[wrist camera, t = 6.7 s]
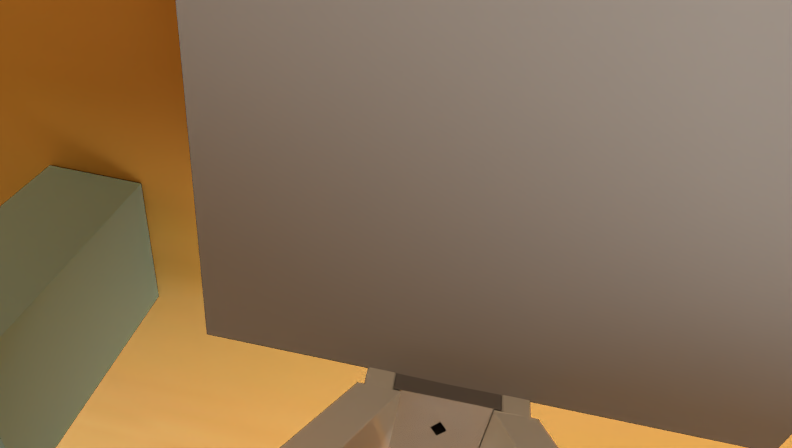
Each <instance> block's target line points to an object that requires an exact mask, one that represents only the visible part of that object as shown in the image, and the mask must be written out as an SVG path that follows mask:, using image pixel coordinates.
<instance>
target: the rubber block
mask: <svg viewBox="0 0 792 448" xmlns="http://www.w3.org/2000/svg"><path fill="white" fill-rule="evenodd" d="M176 11H177V21H178V32H179V43H180V53H181V64H182V75H183V85H184V96H185V106H186V117H187V128H188V138H189V149H190V160H191V170H192V181H193V192H194V202H195V213H196V223H197V234H198V245H199V255H200V266H201V277H202V287H203V298H204V309H205V319H206V330H207V334H208V335H213V336H218V337H223V338H227V339H232V340H237V341H242V342H246V343H251V344H256V345H261V346H266V347H270V348H275V349H280V350H285V351H289V352H294V353H299V354H304V355H309V356H313V357H318V358H323V359H328V360H332V361H337V362H342V363H347V364H351V365H356V366H361V367H366V368H369V367H371V368H376V369H381V370H386V371H390V372H395V373H396V374H397V373H398V374H403V375H407V376H412V377H417V378H421V379H426V380H430V381H435V382H439V383H444V384H448V385H453V386H459V387H464V388H469V389H474V390H479V391H484V392H489V393H494V394H499V395H501V396H502V395H506V396H511V397H516V398H521V399H526V400H529V401H530V402H533V403H538V404H543V405H547V406H552V407H557V408H562V409H566V410H571V411H576V412H581V413H586V414H590V415H595V416H600V417H605V418H609V419H614V420H619V421H624V422H629V423H633V424H638V425H643V426H648V427H652V428H657V429H662V430H667V431H671V432H676V433H681V434H686V435H691V436H695V437H700V438H705V439H710V440H714V441H719V442H724V443H729V444H734V445H738V446H743V447H748V448H779V447H780V446H781V445H782V444H783V443H784V442H785V441H786V439H787V438H788V437H789V436H790V435H791V434H792V0H176Z"/></svg>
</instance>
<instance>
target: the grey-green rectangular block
mask: <svg viewBox="0 0 792 448" xmlns="http://www.w3.org/2000/svg"><path fill="white" fill-rule="evenodd" d="M158 297H159V295H158V289H157V282H156V276H155V269H154V263H153V257H152V250H151V244H150V237H149V231H148V225H147V218H146V212H145V205H144V199H143V193H142V186H141V183H136V182H131V181H126V180H121V179H116V178H111V177H106V176H101V175H96V174H91V173H86V172H81V171H76V170H71V169H66V168H61V167H56V166H51V165H49V166H48V167H47V168H46V169H45V170H43V171H42V172H41V173H40V174H39V175H37V176H36V177H35V178H34V179H33V180H31V181H30V182H29V183H28V184H27V185H25V186H24V187H23V188H22V189H21V190H19V191H18V192H17V193H16V194H15V195H13V196H12V197H11V198H10V199H9V200H7V201H6V202H5V203H4V204H3V205H1V206H0V448H56V446H57V445H58V443H59V442H60V441H61V439H62V438H63V436H64V435H65V433H66V432H67V430H68V429H69V427H70V426H71V424H72V423H73V421H74V420H75V419H76V417H77V416H78V414H79V413H80V411H81V410H82V408H83V407H84V405H85V404H86V402H87V401H88V399H89V398H90V397H91V395H92V394H93V392H94V391H95V389H96V388H97V386H98V385H99V383H100V382H101V380H102V379H103V377H104V376H105V374H106V373H107V372H108V370H109V369H110V367H111V366H112V364H113V363H114V361H115V360H116V358H117V357H118V355H119V354H120V352H121V351H122V350H123V348H124V347H125V345H126V344H127V342H128V341H129V339H130V338H131V336H132V335H133V333H134V332H135V330H136V329H137V328H138V326H139V325H140V323H141V322H142V320H143V319H144V317H145V316H146V314H147V313H148V311H149V310H150V308H151V307H152V306H153V304H154V303H155V301H156V300H157V298H158Z"/></svg>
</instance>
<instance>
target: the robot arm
mask: <svg viewBox="0 0 792 448" xmlns="http://www.w3.org/2000/svg"><path fill="white" fill-rule="evenodd" d="M280 448H558V447H557V445H556V444H555V442H554V441H553V440H552V438H551V437H550V435H549V434H548V432H547V431H546V430H545V428H544V427H543V425H542V424H541V422H540V421H539V419H535V418H531V408H530V401H529V400H526V399H521V398H516V397H511V396H506V395H502V396H501V395H499V394H494V393H489V392H484V391H479V390H474V389H469V388H464V387H459V386H453V385H448V384H444V383H439V382H435V381H430V380H426V379H421V378H417V377H412V376H407V375H403V374H398V373H397V374H396V373H395V372H390V371H386V370H381V369H376V368H371V367H369V368H368V370H367V374H366V379H365V383H358V382H357V383H356V384H355V385H353V386H352V387H351V388H350V389H349V390H348V391H346V392H345V393H344V394H343V395H342V396H340V397H339V398H338V399H337V400H336V401H335V402H333V403H332V404H331V405H330V406H329V407H327V408H326V409H325V410H324V411H323V412H322V413H320V414H319V415H318V416H317V417H316V418H314V419H313V420H312V421H311V422H310V423H309V424H307V425H306V426H305V427H304V428H303V429H301V430H300V431H299V432H298V433H297V434H295V435H294V436H293V437H292V438H291V439H290V440H288V441H287V442H286V443H285V444H284V445H282V446H281V447H280Z"/></svg>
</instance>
